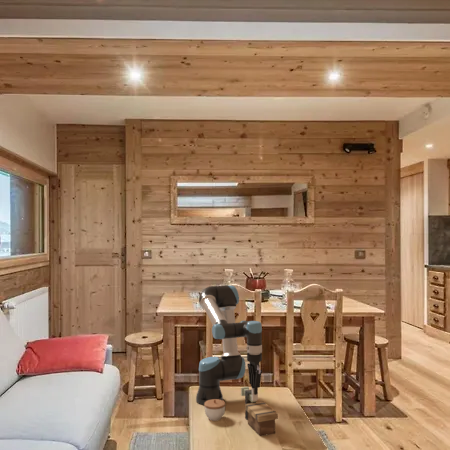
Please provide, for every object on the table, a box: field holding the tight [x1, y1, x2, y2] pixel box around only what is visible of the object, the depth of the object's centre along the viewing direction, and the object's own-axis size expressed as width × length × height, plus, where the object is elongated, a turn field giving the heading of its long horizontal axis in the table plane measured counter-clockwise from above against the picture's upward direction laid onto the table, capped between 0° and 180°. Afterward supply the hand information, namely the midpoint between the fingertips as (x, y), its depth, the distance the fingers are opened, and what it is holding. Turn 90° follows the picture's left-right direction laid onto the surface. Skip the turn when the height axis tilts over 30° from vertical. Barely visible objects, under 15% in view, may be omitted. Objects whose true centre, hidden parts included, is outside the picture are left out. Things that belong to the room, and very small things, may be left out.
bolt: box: [240, 386, 257, 403], centre depth 225 cm, size 12×4×4 cm, turn 20°
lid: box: [244, 401, 279, 422], centre depth 212 cm, size 16×10×4 cm, turn 20°
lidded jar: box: [203, 399, 226, 422], centre depth 224 cm, size 11×11×9 cm
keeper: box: [244, 388, 257, 421], centre depth 223 cm, size 2×5×14 cm, turn 110°
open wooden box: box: [247, 413, 276, 437], centre depth 211 cm, size 14×8×7 cm, turn 20°
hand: (254, 400), depth 219 cm, fingers closed
